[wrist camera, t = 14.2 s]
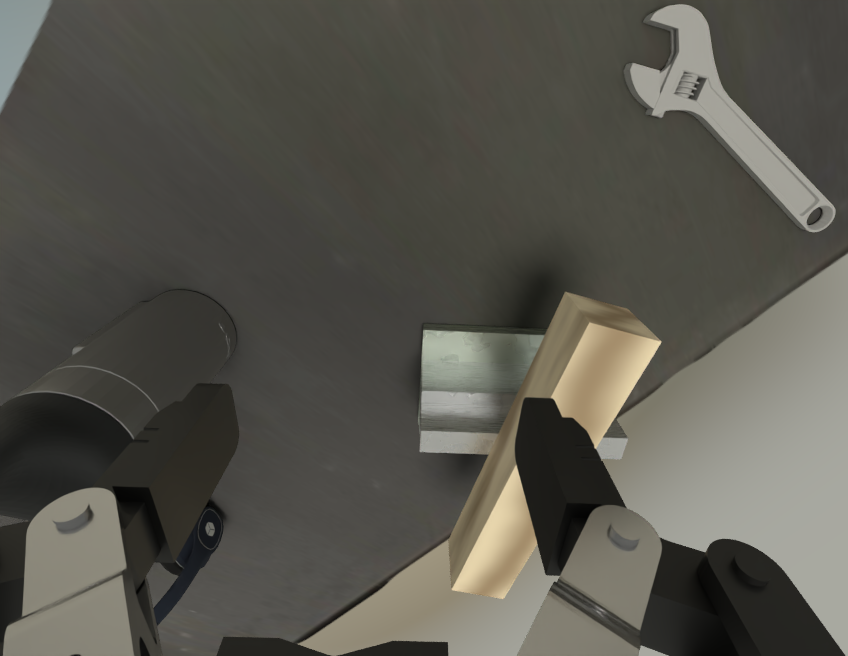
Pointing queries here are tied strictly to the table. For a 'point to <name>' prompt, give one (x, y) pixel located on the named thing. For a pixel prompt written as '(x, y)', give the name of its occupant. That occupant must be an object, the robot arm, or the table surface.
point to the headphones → (191, 559)
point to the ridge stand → (479, 387)
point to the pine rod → (575, 397)
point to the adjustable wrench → (720, 113)
